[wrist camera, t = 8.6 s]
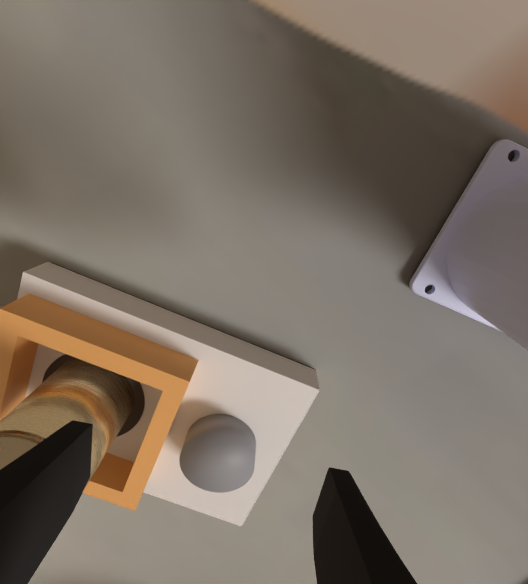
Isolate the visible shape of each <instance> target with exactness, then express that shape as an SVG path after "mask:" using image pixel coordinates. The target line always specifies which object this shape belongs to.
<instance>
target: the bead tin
mask: <svg viewBox="0 0 528 584" xmlns="http://www.w3.org/2000/svg"><path fill="white" fill-rule="evenodd" d="M133 405H134V393H133V389H132V386H131V384H130V382H129V381H128V379H127V378H126V377H125V376H123V375H120V374H117V373H115V372H112V371H109V370H107V369H104V368H102V367H99V366H96V365H94V364H91V363H88V362H86V361H83V360H81V359H78V358H76V359H72V360H70V361H68V362H66V363H64V364H63V365H62V366H60V367H59V368H58V369H57V370H56V371H55V372H54V373H53V374H52V375H50V376H49V377H48V378H47V379H46V380H45V381H44V382H43V383H42V384H40V385H39V386H38V387H37V388H36V389H35V390H34V391H33V392H32V393H31V394H29V395H28V396H27V397H26V398H25V399H24V400H23V401H22V402H21V403H19V404H18V405H17V406H16V407H15V408H14V409H13V410H12V411H11V412H9V413H8V414H7V415H6V416H5V417H4V418H3V419H2V420H1V421H0V469H2V468H3V467H5V466H6V465H8V464H9V463H11V462H12V461H14V460H15V459H17V458H18V457H20V456H21V455H23V454H24V453H26V452H27V451H29V450H30V449H31V448H33V447H34V446H36V445H37V444H39V443H40V442H41V441H43V440H44V439H46V438H47V437H49V436H50V435H51V434H53V433H54V432H56V431H57V430H59V429H60V428H61V427H63V426H64V425H66V424H67V423H69V422H70V421H72V420H74V421H80V422H85V423H91V424H93V430H92V452H91V474H90V478H89V480H88V482H89V481H90V479H91V477H92V476H93V474H94V473H95V471H96V469H97V468H98V466H99V464H100V463H101V461H102V459H103V458H104V456H105V454H106V453H107V451H108V449H109V448H110V446H111V444H112V443H113V441H114V439H115V438H116V436H117V435H118V433H119V431H120V430H121V428H122V426H123V425H124V423H125V421H126V420H127V418H128V416H129V415H130V413H131V411H132V409H133ZM88 482H87V484H88ZM87 484H86V486H87ZM86 486H85V487H86ZM84 489H85V488H84ZM83 491H84V490H83Z"/></svg>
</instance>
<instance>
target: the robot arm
mask: <svg viewBox="0 0 528 584" xmlns="http://www.w3.org/2000/svg"><path fill="white" fill-rule="evenodd" d="M511 151H513V152H514V155H515V156H514V159H513V160H512V161H509V160H508V155H509V153H510V152H511ZM427 285H432V289H431V290H430V291H428V292H425V287H426V286H427ZM409 287H410V289H411V290H412V291H413V292H414V293H416V294H418V295H420V296H422V297H424V298H427V299H429V300H431V301H433V302H436V303H438V304H440V305H442V306H445V307H447V308H449V309H451V310H454V311H456V312H458V313H461V314H463V315H465V316H467V317H470V318H472V319H474V320H476V321H479V322H481V323H483V324H485V325H488V326H490V327H492V328H494V329H497V330H499V331H501V332H503V333H505V334H506V335H508V336H509V337H510V338H512V339H513V340H515V341H516V342H517V343H519V344H520V345H521V346H523V347H524V348H526V349H527V350H528V149H527V148H525V147H523V146H521V145H519V144H517V143H515V142H513V141H511V140H508V139H504V140H499V141H497V142H495V143H494V144H493V145H492V146H491V147H490V149H489V151H488V152H487V154H486V156H485V157H484V159H483V161H482V162H481V164H480V166H479V167H478V169H477V171H476V172H475V174H474V176H473V177H472V179H471V180H470V182H469V184H468V185H467V187H466V189H465V190H464V192H463V194H462V195H461V197H460V199H459V200H458V202H457V204H456V205H455V207H454V209H453V210H452V212H451V214H450V215H449V217H448V219H447V220H446V222H445V224H444V225H443V227H442V229H441V230H440V232H439V234H438V235H437V237H436V239H435V240H434V242H433V244H432V245H431V247H430V249H429V250H428V252H427V253H426V255H425V257H424V258H423V260H422V262H421V263H420V265H419V267H418V268H417V270H416V272H415V273H414V275H413V277H412V278H411V280H410V283H409ZM92 430H93V424H91V423H85V422H80V421H74V420H72V421H70V422H69V423H67V424H66V425H64V426H63V427H61V428H60V429H59V430H57V431H56V432H54V433H53V434H51V435H50V436H49V437H47V438H46V439H44V440H43V441H41V442H40V443H39V444H37V445H36V446H34V447H33V448H31V449H30V450H29V451H27V452H26V453H24V454H23V455H21V456H20V457H18V458H17V459H15V460H14V461H12V462H11V463H9V464H8V465H6V466H5V467H3V468H2V469H0V584H28V582H29V580H30V579H31V577H32V576H33V574H34V573H35V571H36V569H37V568H38V566H39V565H40V563H41V562H42V560H43V558H44V557H45V555H46V554H47V552H48V551H49V549H50V547H51V546H52V544H53V543H54V541H55V540H56V538H57V536H58V535H59V533H60V532H61V530H62V528H63V527H64V525H65V524H66V522H67V520H68V519H69V517H70V516H71V514H72V512H73V510H74V508H75V506H76V504H77V503H78V501H79V499H80V497H81V495H82V493H83V490H84V488H85V486H86V484H87V482H88V480H89V478H90V474H91V452H92ZM313 548H314V561H315V569H316V577H317V584H417V583H416V581H415V580H414V578H413V577H412V575H411V574H410V572H409V571H408V569H407V568H406V566H405V565H404V563H403V562H402V560H401V559H400V557H399V556H398V554H397V553H396V551H395V549H394V548H393V546H392V545H391V543H390V541H389V540H388V538H387V536H386V535H385V533H384V532H383V530H382V528H381V527H380V525H379V523H378V522H377V520H376V518H375V516H374V515H373V513H372V511H371V510H370V508H369V506H368V504H367V503H366V501H365V499H364V497H363V495H362V494H361V492H360V490H359V488H358V487H357V485H356V483H355V481H354V479H353V478H352V476H351V474H350V473H349V471H346V470H340V469H335V468H329V469H328V472H327V475H326V478H325V481H324V484H323V487H322V490H321V493H320V496H319V499H318V502H317V505H316V508H315V511H314V514H313Z"/></svg>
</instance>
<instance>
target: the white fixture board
mask: <svg viewBox="0 0 528 584" xmlns="http://www.w3.org/2000/svg"><path fill="white" fill-rule="evenodd" d="M76 358H78V359H81V360H83V361H86V362H88V363H91V364H94V365H96V366H99V367H102V368H104V369H107V370H109V371H112V372H115V373H117V374H120V375H123V376H125V377H126V378H127V379H128V381H129V382H130V384H131V386H132V389H133V393H134V405H133V409H132V411H131V413H130V415H129V416H128V418H127V420H126V421H125V423H124V425H123V426H122V428H121V430H120V431H119V433H118V435H117V436H116V438H115V439H114V441H113V443H112V444H111V446H110V448H109V449H108V451H107V453H106V454H105V456H104V458H103V459H102V461H101V463H100V464H99V466H98V468H97V469H96V471H95V473H94V474H93V476H92V477H91V479H90V481H89V482H88V484H87V486H86V487H85V489H84V491H83V493H84V494H87V495H90V496H93V497H96V498H99V499H102V500H105V501H108V502H110V503H113V504H116V505H119V506H122V507H125V508H128V509H131V510H134V511H135V510H136V508H137V505H138V503H139V500H140V498H141V496H142V493H143V492H144V493H147V494H150V495H153V496H155V497H158V498H161V499H164V500H167V501H170V502H173V503H176V504H178V505H181V506H184V507H187V508H190V509H193V510H196V511H199V512H201V513H204V514H207V515H210V516H213V517H216V518H219V519H221V520H224V521H227V522H230V523H233V524H236V525H239V526H242V524H243V523H244V521H245V519H246V518H247V516H248V514H249V512H250V511H251V509H252V507H253V505H254V504H255V502H256V500H257V498H258V497H259V495H260V493H261V491H262V490H263V488H264V486H265V485H266V483H267V481H268V479H269V478H270V476H271V474H272V472H273V471H274V469H275V467H276V465H277V464H278V462H279V460H280V458H281V457H282V455H283V453H284V451H285V450H286V448H287V446H288V445H289V443H290V441H291V439H292V438H293V436H294V434H295V432H296V431H297V429H298V427H299V425H300V424H301V422H302V420H303V418H304V417H305V415H306V413H307V411H308V410H309V408H310V406H311V405H312V403H313V401H314V399H315V398H316V396H317V394H318V392H319V391H320V389H319V384H318V379H317V373H316V370H314V369H312V368H309V367H307V366H305V365H302V364H300V363H297V362H295V361H292V360H290V359H287V358H285V357H282V356H280V355H277V354H275V353H272V352H270V351H267V350H265V349H263V348H260V347H258V346H255V345H253V344H250V343H248V342H245V341H243V340H240V339H238V338H235V337H233V336H230V335H228V334H225V333H223V332H220V331H218V330H216V329H213V328H211V327H208V326H206V325H203V324H201V323H198V322H196V321H193V320H191V319H188V318H186V317H183V316H181V315H178V314H176V313H174V312H171V311H169V310H166V309H164V308H161V307H159V306H156V305H154V304H151V303H149V302H146V301H144V300H141V299H139V298H136V297H134V296H132V295H129V294H127V293H124V292H122V291H119V290H117V289H114V288H112V287H109V286H107V285H104V284H102V283H99V282H97V281H94V280H92V279H89V278H87V277H85V276H82V275H80V274H77V273H75V272H72V271H70V270H67V269H65V268H62V267H60V266H57V265H55V264H52V263H50V262H46V263H44V264H41V265H39V266H36V267H34V268H31V269H29V270H26V271H24V272H23V274H22V278H21V283H20V288H19V293H18V297H17V300H15V301H13V302H11V303H9V304H7V305H5V306H3V307H1V308H0V421H1V420H2V419H3V418H4V417H5V416H6V415H7V414H8V413H9V412H11V411H12V410H13V409H14V408H15V407H16V406H17V405H18V404H19V403H21V402H22V401H23V400H24V399H25V398H26V397H27V396H28V395H29V394H31V393H32V392H33V391H34V390H35V389H36V388H37V387H38V386H39V385H40V384H42V383H43V382H44V381H45V380H46V379H47V378H48V377H49V376H50V375H52V374H53V373H54V372H55V371H56V370H57V369H58V368H59V367H60V366H62V365H63V364H64V363H66V362H68V361H70V360H72V359H76Z"/></svg>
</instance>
